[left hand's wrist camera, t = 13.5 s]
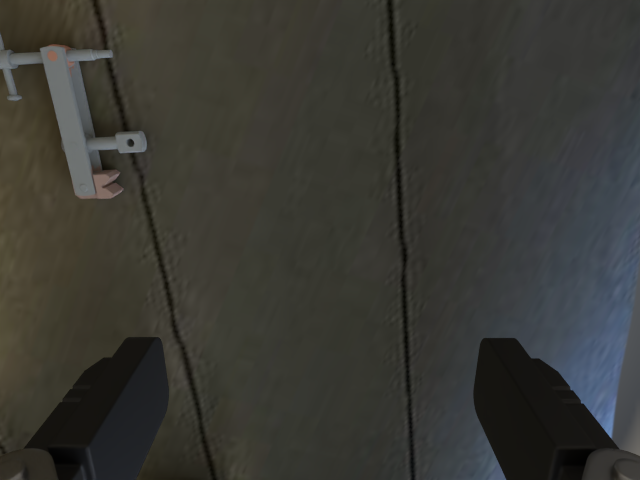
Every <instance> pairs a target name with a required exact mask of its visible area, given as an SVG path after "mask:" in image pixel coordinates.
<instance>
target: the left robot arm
mask: <svg viewBox="0 0 640 480" xmlns="http://www.w3.org/2000/svg"><path fill="white" fill-rule="evenodd" d="M168 399H169V388H168V380H167V373H166V366H165V359H164V352H163V345H162V341H161V339H160V338H159V337H128V338H126V339H125V340H124V342H123V343H122V344H121V346H120V347H119V348H118V350H117V351H116V353H115V354H114V355H113V357H112V358H103V359H101V360H100V361H98V362H97V363H95V364H94V365H93V366H91V367H90V368H88V369H87V370H85V371H84V373H83V374H82V375H81V376H80V378H79V379H78V380H77V381H76V383H75V384H74V385H73V389H70V390H69V392H68V393H67V394H66V395H65V397H64V398H63V401H62V402H60V403H59V404H58V406H57V407H56V408H55V409H54V411H53V412H52V413H51V415H50V416H49V417H48V418H47V420H46V421H45V422H44V423H43V425H42V426H41V427H40V428H39V430H38V431H37V432H36V434H35V435H34V436H33V437H32V439H31V440H30V441H29V442H28V444H27V445H26V446H25V448H24V449H20V450H16V451H12V452H10V453H7V454H4V455H2V456H0V480H136V478H137V476H138V474H139V471H140V469H141V467H142V465H143V463H144V460H145V458H146V456H147V454H148V451H149V449H150V447H151V445H152V443H153V440H154V438H155V436H156V434H157V432H158V429H159V427H160V425H161V423H162V421H163V418H164V416H165V414H166V410H167V406H168ZM474 405H475V410H476V413H477V416H478V418H479V421H480V423H481V425H482V427H483V429H484V432H485V434H486V436H487V438H488V440H489V443H490V445H491V447H492V449H493V451H494V453H495V456H496V458H497V460H498V462H499V464H500V467H501V469H502V471H503V473H504V475H505V477H506V480H640V456H638V455H636V454H633V453H630V452H628V451H624V450H620V449H619V448H618V447H617V445H616V444H615V443H614V442H613V440H612V439H611V438H610V437H609V435H608V434H607V433H606V432H605V430H604V429H603V428H602V427H601V425H600V424H599V423H598V421H597V420H596V419H595V418H594V416H593V415H592V414H591V413H590V411H589V410H588V409H587V408H586V406H585V405H584V404H581V400H580V399H579V398H578V396H577V395H576V394H575V393H574V391H573V390H570V386H569V385H568V384H567V382H566V381H565V380H564V379H563V377H562V376H561V375H560V374H559V372H558V371H556V370H555V369H553V368H552V367H550V366H549V365H547V364H546V363H545V362H543V361H542V360H540V359H531V358H530V356H529V355H528V354H527V352H526V351H525V350H524V348H523V347H522V346H521V344H520V343H519V342H518V340H517V339H515V338H484V339H483V340H482V341H481V344H480V349H479V356H478V363H477V370H476V377H475V384H474Z"/></svg>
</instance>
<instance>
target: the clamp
mask: <svg viewBox="0 0 640 480" xmlns="http://www.w3.org/2000/svg"><path fill="white" fill-rule="evenodd" d="M40 51H41V52H30V53H15V52H14V51H12V50H5V48H4V44H3V41H2V37H1V33H0V69H2V70H3V73H4V77H5V80H6V84H7V87H8V91H9V94H10V96H7V99H8V100H12V101H18V100H19V99H22V96H21V95H18V94H17V90H16V87H15V83H14V80H13V76H12V73H11V69H15V68H17V67H18V65H20V64H37V63H44V68H45V72H46V76H47V80H48V84H49V88H50V92H51V96H52V100H53V104H54V108H55V112H56V117H57V121H58V125H59V129H60V133H61V137H62V141H61V147H62V149H63V151H64V152H65V153H66V157H67V161H68V165H69V170H70V174H71V178H72V184H73V188H74V192H75V195H76V196H78V197H79V198H80V199H89V198H98V199H107V198H112V197H114V196H116V195H117V194H119V193H121V192H122V190H123V188H122V187H121V186H119V185H118V184H117V183H113V182H112V181H114V180H115V179H116V178H117V177H118V175H119V174H120V172H119V171H118V170H116V169H115V170H102V165H101V161H100V156H99V151H98V150H110V149H118V150H119V152H120V153H132V152H144V151H145V150H146V147H147V142H146V137H145V135H144V133H143V132H142V131H130V132H117V133H116V135H115V136H116V137H98V138H95V133H94V129H93V124H92V120H91V115H90V110H89V106H88V101H87V97H86V92H85V88H84V83H83V79H82V74H81V70H80V65H79V61H90V60H95V59H100V58H109V57H113V53H112V50H93V49H82V50H76V49H74V48H70V47H68V46H65V45H58V44H50V45H48V46H47V47H43V48H40ZM131 139H132V140H133V141H134V145H133V144H132V143H131Z"/></svg>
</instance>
